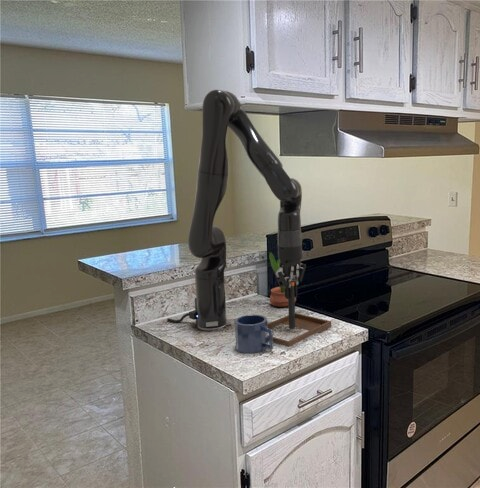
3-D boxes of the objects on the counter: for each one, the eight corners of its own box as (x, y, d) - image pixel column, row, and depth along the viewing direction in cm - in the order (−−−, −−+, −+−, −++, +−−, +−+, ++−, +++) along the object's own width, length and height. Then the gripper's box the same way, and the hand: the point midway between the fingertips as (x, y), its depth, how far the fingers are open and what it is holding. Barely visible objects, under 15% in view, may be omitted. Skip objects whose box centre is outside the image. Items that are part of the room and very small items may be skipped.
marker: (287, 328, 156) (286, 282, 153) (291, 326, 158) (290, 281, 155) (292, 329, 155) (291, 283, 152) (296, 327, 157) (295, 282, 154)
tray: (250, 337, 153) (250, 331, 152) (294, 317, 170) (294, 312, 169) (288, 348, 144) (288, 342, 143) (331, 327, 161) (331, 321, 160)
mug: (229, 350, 143) (228, 321, 141) (251, 340, 150) (250, 312, 148) (261, 361, 135) (260, 330, 134) (283, 350, 143) (282, 320, 141)
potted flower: (286, 297, 193) (284, 234, 188) (305, 302, 187) (304, 237, 182) (264, 305, 184) (261, 239, 179) (283, 310, 178) (281, 242, 173)
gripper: (294, 239, 159) (295, 290, 162) (265, 246, 148) (267, 301, 151) (313, 241, 155) (313, 294, 158) (284, 248, 144) (286, 305, 147)
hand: (291, 297), depth 154 cm, fingers closed on marker, 2 cm apart
